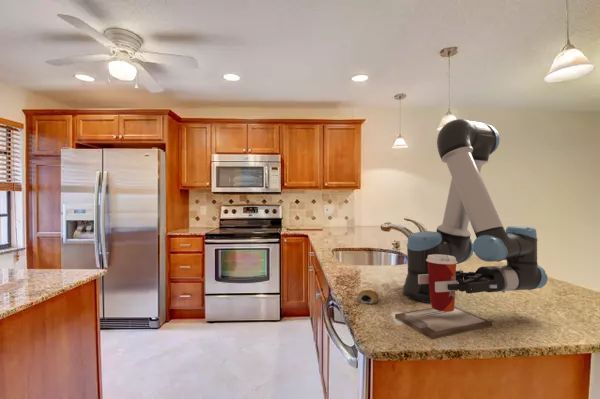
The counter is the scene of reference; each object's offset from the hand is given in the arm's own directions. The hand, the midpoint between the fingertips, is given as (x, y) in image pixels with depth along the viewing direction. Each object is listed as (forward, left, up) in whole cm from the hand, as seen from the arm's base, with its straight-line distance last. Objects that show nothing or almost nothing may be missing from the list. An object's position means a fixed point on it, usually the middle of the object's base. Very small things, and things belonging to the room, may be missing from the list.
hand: (426, 283), depth 80 cm
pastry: (-22, -5, -12) cm, 25 cm away
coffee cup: (+1, +5, -8) cm, 9 cm away
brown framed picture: (+1, +5, -11) cm, 12 cm away
